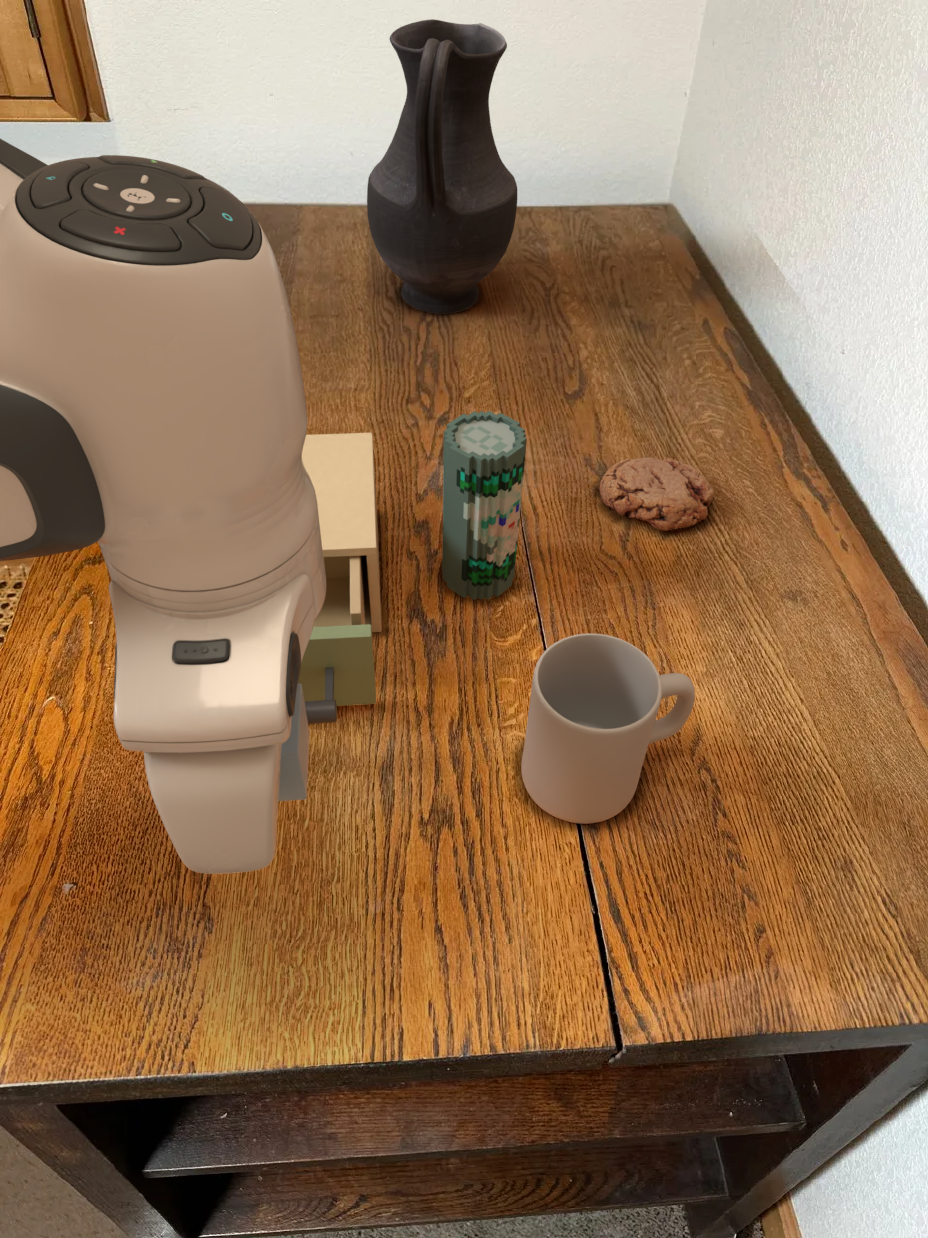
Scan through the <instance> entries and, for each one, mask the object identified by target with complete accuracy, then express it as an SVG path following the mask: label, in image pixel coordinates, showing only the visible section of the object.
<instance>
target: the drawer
mask: <svg viewBox="0 0 928 1238" xmlns="http://www.w3.org/2000/svg"><path fill="white" fill-rule="evenodd" d="M324 566H325V575H326V595H325V599H324V603H323V606H322V608H321V610H320V612H319V614H318V616H317V618H316V619H315V621H314V626H313V630H312V633H311V636H310V639H309V642H308V645H307V647H306V650H305V653H304V656H303V658H302V662H301V670H300V675H299V679H298V684H301V685H302V690H303V696H304V702H305V708H306V715H307V721H308V725H319V724H335V723H337V722H338V707H342V706H345V707H346V706H362V705H364V706H365V705H376V704H377V686H376V673H375V658H374V656H375V655H374V645H373V643H374V642H373V632H372V629H371V624H365V590H364V569H363V556H362V555H361V556H338V557H324Z"/></svg>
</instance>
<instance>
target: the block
mask: <svg viewBox="0 0 928 1238" xmlns="http://www.w3.org/2000/svg"><path fill="white" fill-rule="evenodd" d="M309 752H310V728H309V724H308V721H307V715H306V708H305V702H304V696H303V690H302V685H301V684H298V685H297V692H296V700H295V708H294V715H293V716H292V721H291V732H290V736H289V738H288V740H287V741H286V742H284V743H282V751H281V767H280V783H279V799H278V802H288V801H289V802H290V801H305V800H307V799H308V781H309V780H308V778H309Z"/></svg>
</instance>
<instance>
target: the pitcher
mask: <svg viewBox="0 0 928 1238" xmlns="http://www.w3.org/2000/svg"><path fill="white" fill-rule="evenodd" d="M389 42H390V44H391V46H392V48H393V49H394V51H395V53H396V55H397V57H398V59H399V61H400V65H401V68H402V72H403V75H404V80H405V84H406V97H405V101H404V105H403V107H402V110H401V113H400V117H399V119H398V122H397V123H398V124H397V127H396V130H395V132H394V134H393V137H392V140H391V142H390V144H389V146H388V148H387V150H386V152H385V153H384V154H383V156H382V159H380V161H378V162H377V164H376V165H375V166H374V167H373V169H372V170H371V172H370V174H369V175H368V181H367V189H366V191H367V192H366V210H367V211H366V213H367V220H368V226H369V231H370V234H371V238H372V241H373V243H374V246H375V249H376V250H377V252H378V255H379V257H380V258H381V259H382V261H383V262H384V263H385V265H386V267H387V268H389V269H390V271H391V272H392V273H393V274H395V275H396V276H397V278H399V279H400V280H401V281H402V282H403V284H402V286H401V291H400V296H401V298H402V300H403V301H404V302H405V303H406V304H408V305H409V306H410V307H412V308H414V309H416V310H419V311H422V312H426V313H429V314H437V315H443V314H445V315H446V314H447V315H448V314H457V313H460V312H463V311H465V310H468V309H470V308H471V307H473V306H474V305H475V304H476V303H477V302H478V299H479V297H480V290H479V287H478V283H480V282H481V281H483V280H484V279H486V278H487V277H488V276H489V275H490V274H491V273H492V271H494V270H495V269H496V267H497V266H498V265H499V263H500V262H501V261H502V259H503V257H504V256H505V254H506V252H507V250H508V247H509V245H510V242H511V239H512V237H513V232H514V229H515V223H516V218H517V209H518V185H517V181H516V177H514V175H513V174H512V172H511V171H509V169H508V168H507V166H506V165H505V164H504V162H503V161H502V158H501V156H500V154H499V151H498V148H497V146H496V142H495V138H494V134H493V128H492V123H491V114H490V113H491V112H490V101H489V100H490V92H491V87H492V82H493V80H494V79H493V78H494V75H495V72H496V69H497V67H498V64H499V63H500V60H501V58H502V57H503V55H504V53H505V52H506V50H507V48H508V44H507V43H508V42H507V41H506V39H505V36H504V35H503V34H502V33H501V32H500V31H499V30H497V29H495V28H494V27H491V26H489V25H487V24H485V23H482V22H479V23H470V24H467V23H457V22H449V21H444V20H440V19H431V18H430V19H425V20H419V21H413V22H411V23H407V24H404V25H402V26H400V27H398V28H396V29H395V30H394V31H392V33H391V34H390V36H389Z"/></svg>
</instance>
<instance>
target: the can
mask: <svg viewBox="0 0 928 1238" xmlns="http://www.w3.org/2000/svg"><path fill="white" fill-rule="evenodd" d="M526 434H527V433H526V429H525V428H523V427H521V422H520V421H517V420H515V419H514V418H511V417H510V416H508V415H506V414H504V413H502V412H498V413H494V412H492V411H491V410H487V411H486V412H484V411H483V410H480V412H478V411H472V412H471V413H469V414H466V413H462V414H460V415H459V416H457V417H456V418H454V419H453V420H452V421H450V422H448V423H447V424H446V429H445V430H443V454H442V455H443V457H442V458H443V460H442V462H443V463H442V469H443V470H442V547H441V548H442V549H441V550H442V554H441V555H442V556H441V557H442V559H441V562H442V564H441V566H442V567H441V572H442V582H445V583H446V588H447V589H449V590H451V591H452V592H454V593H455V594H457V595H458V596H460V597H462V598H463V599H466V598H467V597H469V598H470V599H472V600H473V601H476V600H477V599H479V600H480V601H482V600H483V599H486V600H487V601H488V600H489V599H491V598H492V597H493V596H495V597H497V598H498V597H499V596H501V595H502V594H503V593H504V592H505V591H507V590H508V589H509V588H510V587H511V586H512V585H513V581H514V579H515V574H516V564H517V552H518V551H517V550H518V541H519V532H520V531H519V530H520V529H519V528H520V518H521V506H522V496H523V486H524V473H525V465H526V464H525V462H526V453H527V441H528V439H527V437H526V436H527V435H526Z"/></svg>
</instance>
